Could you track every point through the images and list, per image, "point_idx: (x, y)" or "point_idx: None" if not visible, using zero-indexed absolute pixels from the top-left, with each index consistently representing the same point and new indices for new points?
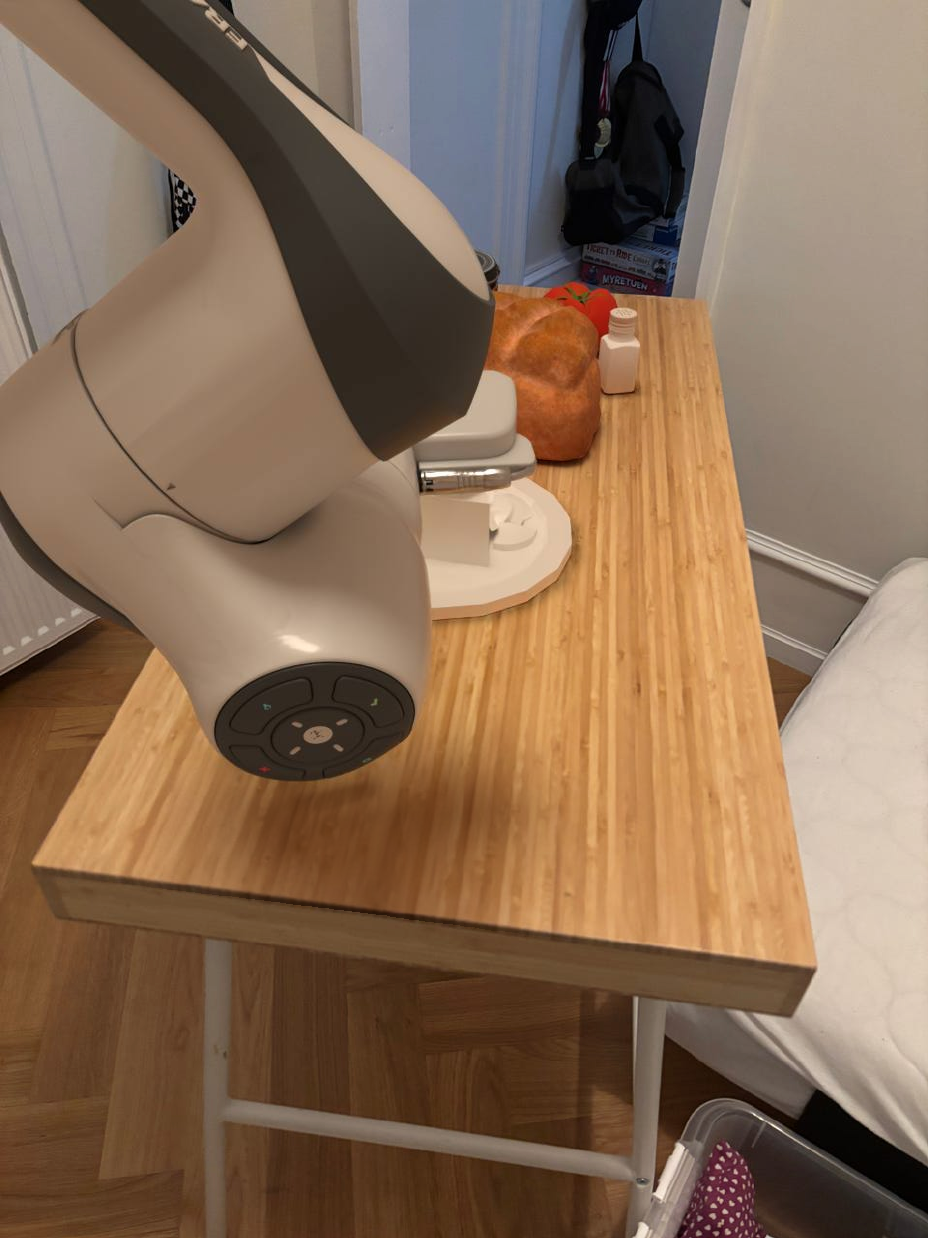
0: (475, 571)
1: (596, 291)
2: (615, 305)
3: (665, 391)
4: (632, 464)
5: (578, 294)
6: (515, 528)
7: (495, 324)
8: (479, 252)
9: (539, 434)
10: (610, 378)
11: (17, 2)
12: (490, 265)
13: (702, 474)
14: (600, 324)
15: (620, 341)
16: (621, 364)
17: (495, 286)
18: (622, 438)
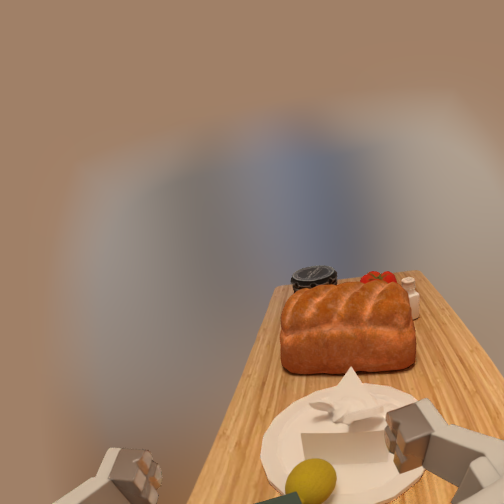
0: (379, 467)
1: (384, 273)
2: (394, 277)
3: (432, 313)
4: (440, 359)
5: (376, 276)
6: None
7: (356, 300)
8: (324, 266)
9: (391, 357)
10: None
11: None
12: (332, 271)
13: (475, 354)
14: None
15: (410, 294)
16: (412, 305)
17: (336, 280)
18: (427, 345)
